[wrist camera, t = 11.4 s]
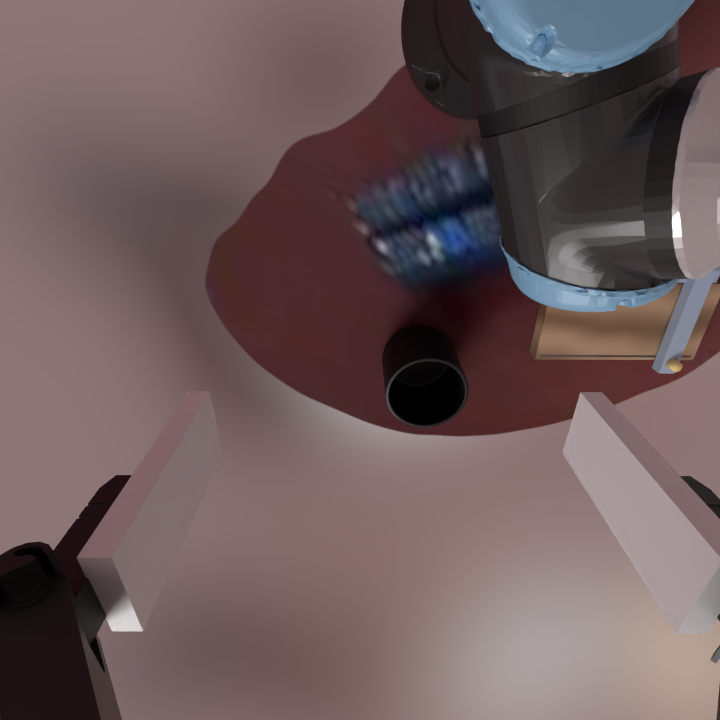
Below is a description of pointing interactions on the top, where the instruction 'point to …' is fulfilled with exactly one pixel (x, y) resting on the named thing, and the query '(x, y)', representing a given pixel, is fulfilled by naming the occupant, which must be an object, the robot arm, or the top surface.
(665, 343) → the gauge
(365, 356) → the top surface
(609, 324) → the board
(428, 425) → the mug
